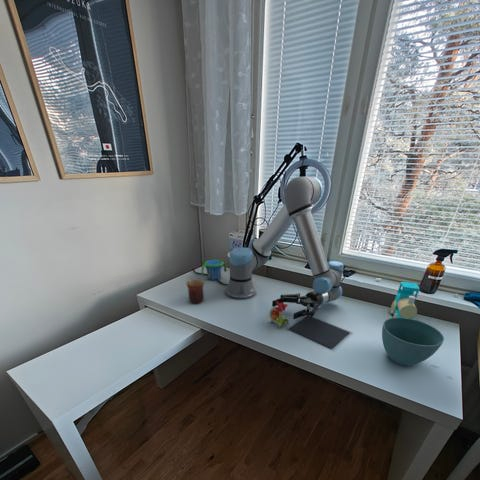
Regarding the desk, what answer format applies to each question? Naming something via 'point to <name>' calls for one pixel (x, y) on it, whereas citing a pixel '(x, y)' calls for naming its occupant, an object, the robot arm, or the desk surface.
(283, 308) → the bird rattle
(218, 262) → the snack cup
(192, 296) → the mug
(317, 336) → the mat
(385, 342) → the teal green bowl
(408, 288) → the toy train
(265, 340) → the desk surface
